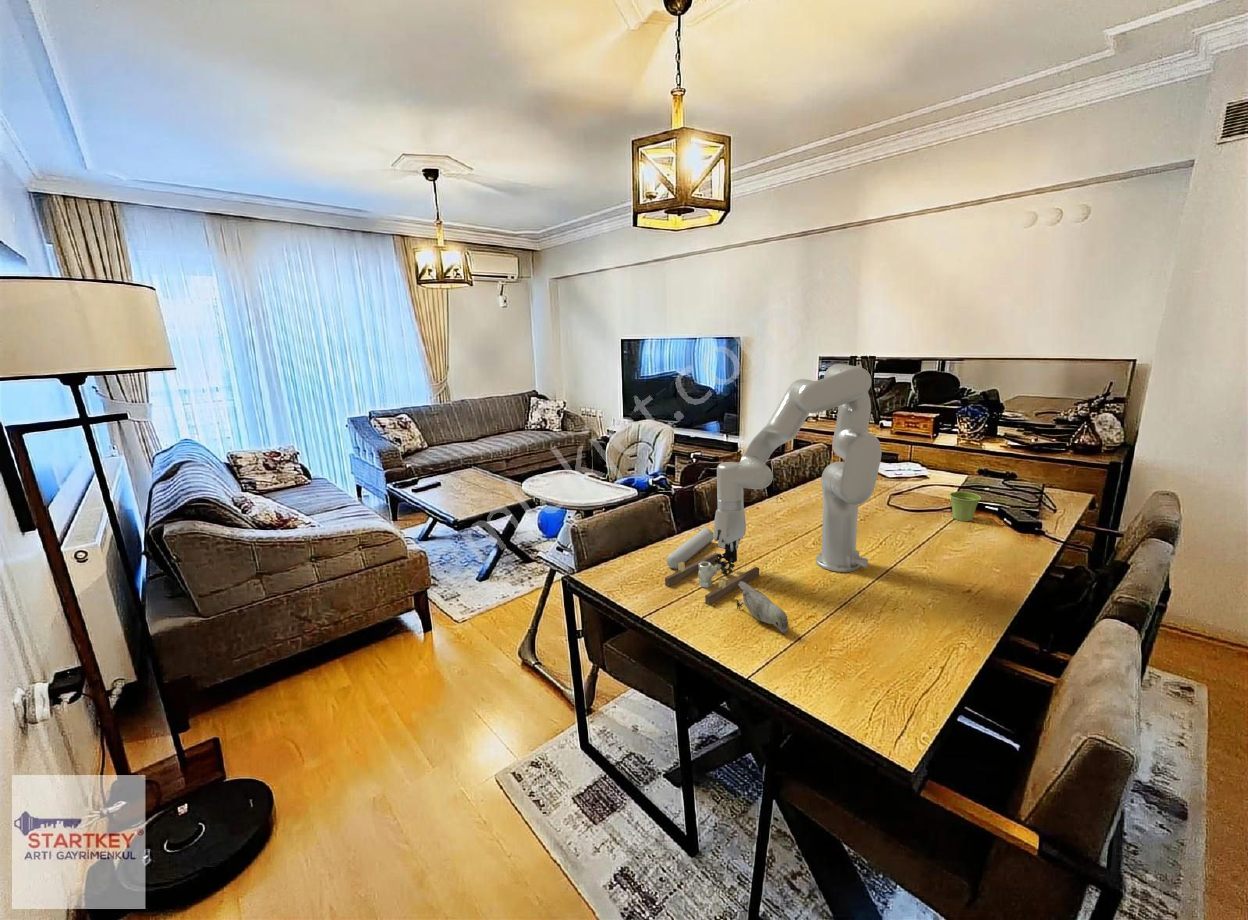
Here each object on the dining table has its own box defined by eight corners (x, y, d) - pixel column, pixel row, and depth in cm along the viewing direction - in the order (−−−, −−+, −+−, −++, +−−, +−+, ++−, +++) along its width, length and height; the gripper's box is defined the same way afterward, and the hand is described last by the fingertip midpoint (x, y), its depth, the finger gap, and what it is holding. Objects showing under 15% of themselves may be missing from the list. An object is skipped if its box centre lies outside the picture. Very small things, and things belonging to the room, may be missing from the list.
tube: (679, 561, 157) (715, 532, 176) (665, 552, 159) (702, 525, 179) (675, 574, 159) (711, 544, 178) (661, 566, 161) (698, 537, 181)
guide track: (759, 575, 152) (759, 560, 151) (708, 605, 138) (708, 588, 137) (715, 559, 164) (715, 545, 163) (665, 585, 150) (664, 570, 149)
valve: (710, 591, 145) (735, 576, 153) (709, 569, 143) (734, 555, 151) (692, 584, 150) (716, 569, 158) (691, 563, 148) (716, 549, 156)
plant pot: (978, 516, 186) (980, 493, 184) (978, 525, 178) (981, 501, 176) (947, 512, 191) (949, 490, 189) (947, 521, 183) (949, 498, 181)
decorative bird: (777, 639, 122) (777, 610, 120) (732, 609, 135) (732, 584, 134) (793, 631, 124) (794, 604, 122) (748, 603, 138) (748, 578, 136)
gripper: (735, 495, 159) (736, 549, 163) (703, 507, 150) (705, 565, 154) (756, 500, 153) (756, 556, 158) (724, 513, 144) (725, 573, 149)
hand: (731, 560), depth 156 cm, fingers closed
